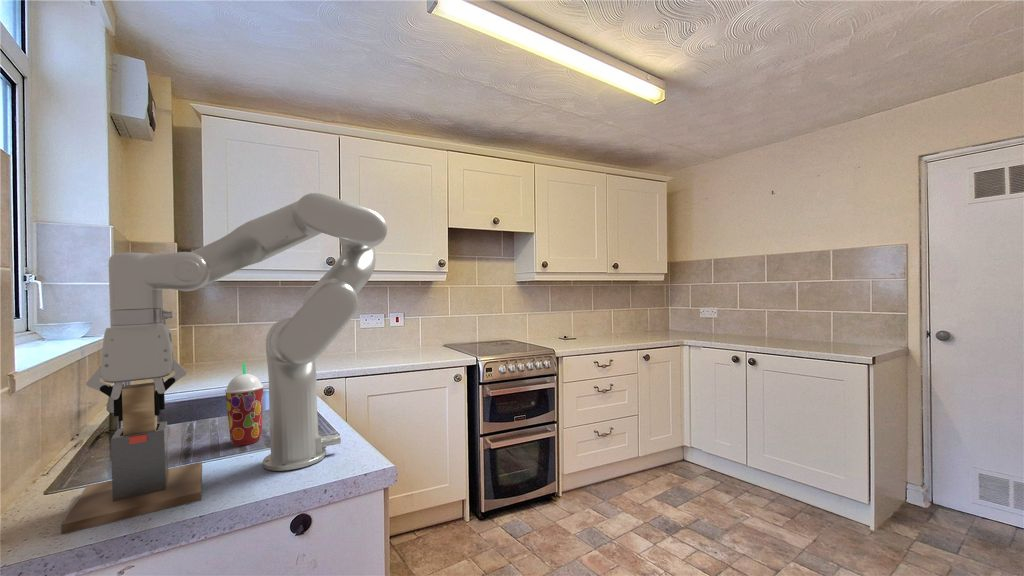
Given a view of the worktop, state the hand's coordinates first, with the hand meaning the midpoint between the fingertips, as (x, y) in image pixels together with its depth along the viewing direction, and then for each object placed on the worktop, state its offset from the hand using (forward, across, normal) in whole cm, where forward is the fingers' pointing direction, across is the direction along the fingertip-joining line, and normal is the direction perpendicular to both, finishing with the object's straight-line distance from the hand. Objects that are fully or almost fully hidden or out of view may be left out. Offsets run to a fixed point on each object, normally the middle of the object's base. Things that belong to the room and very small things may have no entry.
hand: (140, 415), depth 82 cm
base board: (+15, 0, 0) cm, 15 cm away
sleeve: (+14, 0, 0) cm, 14 cm away
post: (+12, 0, 0) cm, 12 cm away
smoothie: (+15, -18, -23) cm, 33 cm away
